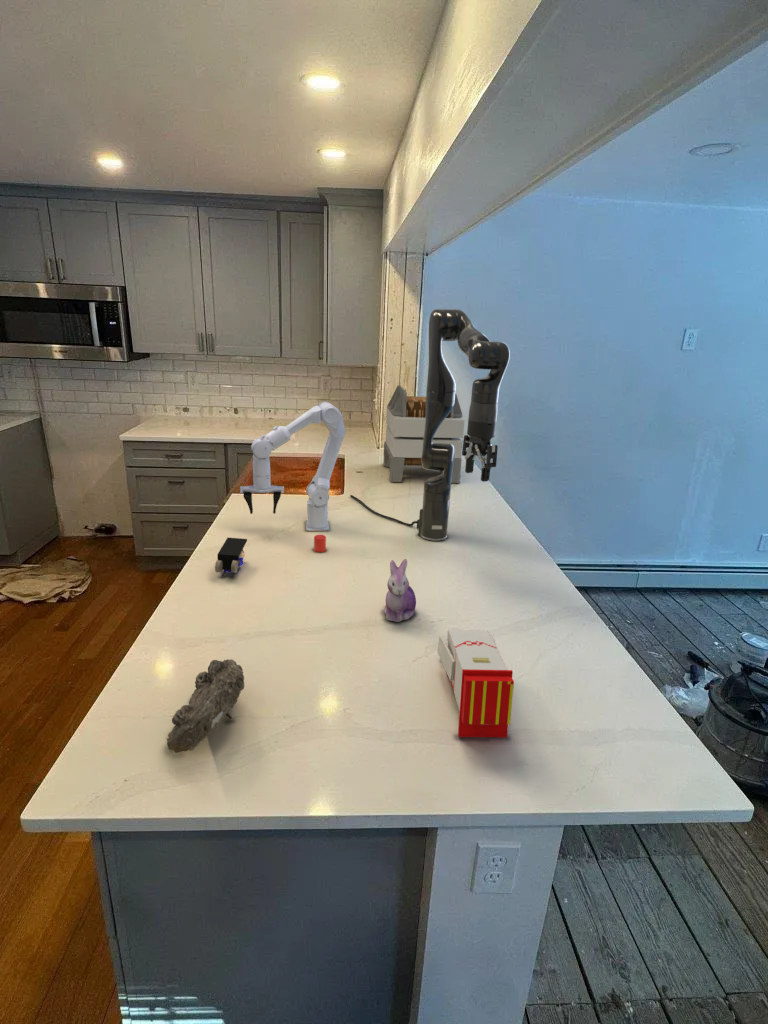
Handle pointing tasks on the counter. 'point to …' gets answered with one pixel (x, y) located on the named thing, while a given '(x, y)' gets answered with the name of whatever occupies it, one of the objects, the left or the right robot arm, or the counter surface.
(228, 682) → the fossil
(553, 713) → the counter surface
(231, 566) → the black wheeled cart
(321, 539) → the canister
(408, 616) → the figurine
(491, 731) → the toy
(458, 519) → the counter surface
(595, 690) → the counter surface
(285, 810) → the counter surface
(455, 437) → the grey storage crate
